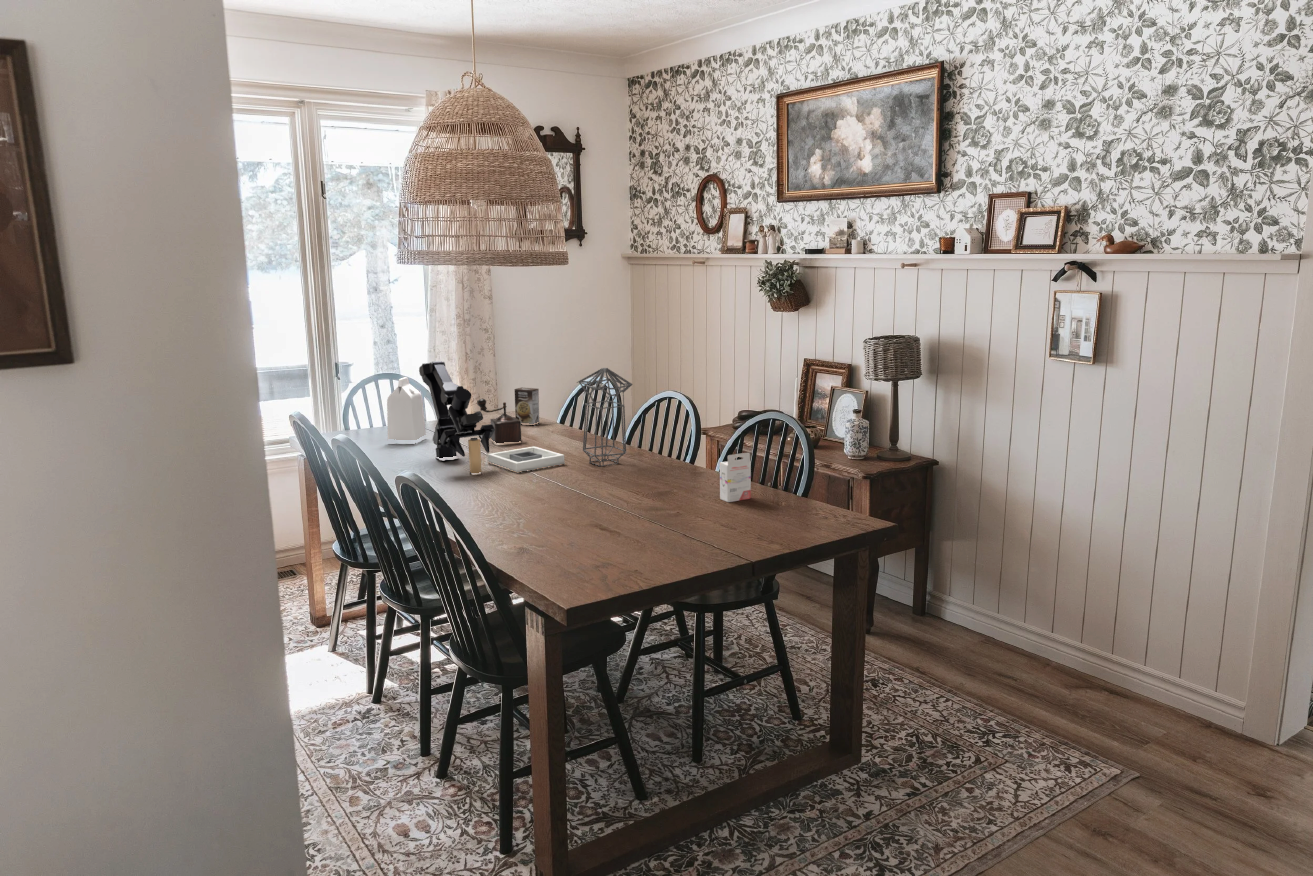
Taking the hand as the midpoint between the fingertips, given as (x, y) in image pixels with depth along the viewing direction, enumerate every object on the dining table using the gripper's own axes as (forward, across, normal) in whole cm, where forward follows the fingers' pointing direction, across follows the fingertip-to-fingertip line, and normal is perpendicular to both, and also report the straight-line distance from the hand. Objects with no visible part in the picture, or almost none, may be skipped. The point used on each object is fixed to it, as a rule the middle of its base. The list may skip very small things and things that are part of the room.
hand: (476, 454), depth 313 cm
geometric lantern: (+16, +44, -5) cm, 47 cm away
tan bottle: (+4, 0, +6) cm, 7 cm away
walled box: (+3, +21, +7) cm, 22 cm away
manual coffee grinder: (-25, +32, +35) cm, 53 cm away
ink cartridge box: (+62, +47, -51) cm, 93 cm away
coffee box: (-45, +61, +55) cm, 93 cm away
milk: (-44, +4, +54) cm, 70 cm away
